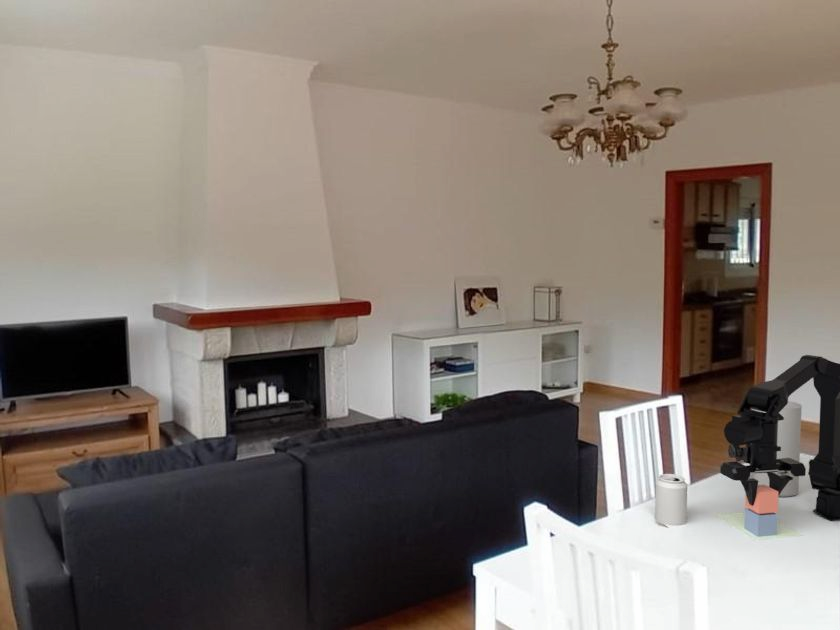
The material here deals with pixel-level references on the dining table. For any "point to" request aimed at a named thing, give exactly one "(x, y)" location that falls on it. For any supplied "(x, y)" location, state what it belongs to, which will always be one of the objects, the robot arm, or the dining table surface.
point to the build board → (739, 523)
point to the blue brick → (761, 523)
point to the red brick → (764, 500)
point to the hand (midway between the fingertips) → (761, 504)
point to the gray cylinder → (787, 445)
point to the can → (671, 500)
